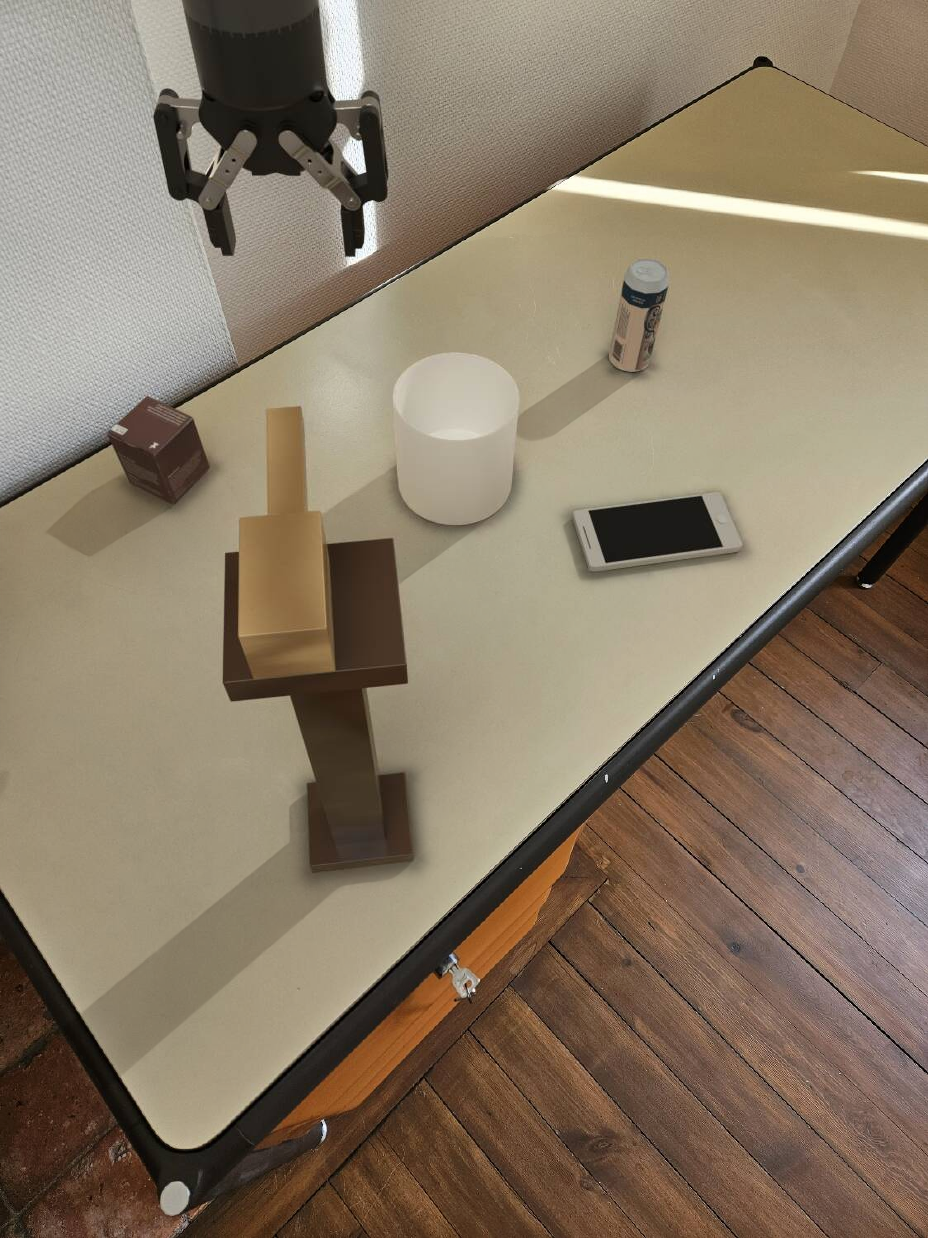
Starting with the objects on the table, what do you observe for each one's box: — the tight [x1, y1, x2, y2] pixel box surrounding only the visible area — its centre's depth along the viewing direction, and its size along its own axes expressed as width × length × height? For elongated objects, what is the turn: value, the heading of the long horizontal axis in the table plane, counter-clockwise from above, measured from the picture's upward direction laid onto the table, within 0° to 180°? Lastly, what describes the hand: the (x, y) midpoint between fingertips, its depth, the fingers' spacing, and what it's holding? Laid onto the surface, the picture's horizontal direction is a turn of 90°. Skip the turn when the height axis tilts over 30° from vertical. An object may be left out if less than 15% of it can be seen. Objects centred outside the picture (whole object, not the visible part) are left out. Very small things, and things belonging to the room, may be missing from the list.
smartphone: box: [572, 491, 743, 572], centre depth 90 cm, size 7×16×1 cm, turn 100°
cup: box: [391, 352, 521, 526], centre depth 88 cm, size 12×12×12 cm
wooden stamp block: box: [238, 405, 335, 679], centre depth 47 cm, size 4×17×4 cm, turn 7°
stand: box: [222, 537, 415, 874], centre depth 60 cm, size 9×8×32 cm
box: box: [106, 395, 211, 505], centre depth 90 cm, size 6×6×7 cm
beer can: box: [608, 257, 671, 373], centre depth 99 cm, size 5×5×12 cm
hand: (290, 249), depth 64 cm, fingers open, 8 cm apart
